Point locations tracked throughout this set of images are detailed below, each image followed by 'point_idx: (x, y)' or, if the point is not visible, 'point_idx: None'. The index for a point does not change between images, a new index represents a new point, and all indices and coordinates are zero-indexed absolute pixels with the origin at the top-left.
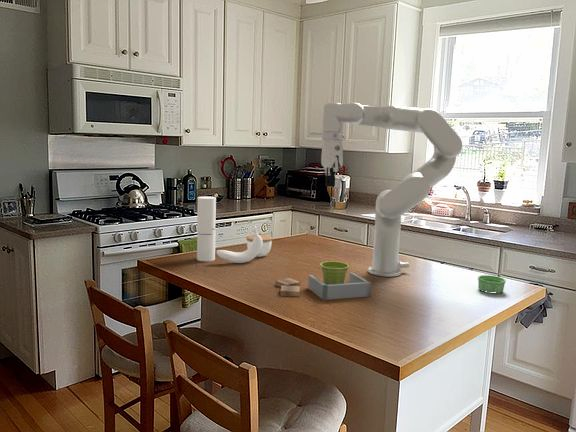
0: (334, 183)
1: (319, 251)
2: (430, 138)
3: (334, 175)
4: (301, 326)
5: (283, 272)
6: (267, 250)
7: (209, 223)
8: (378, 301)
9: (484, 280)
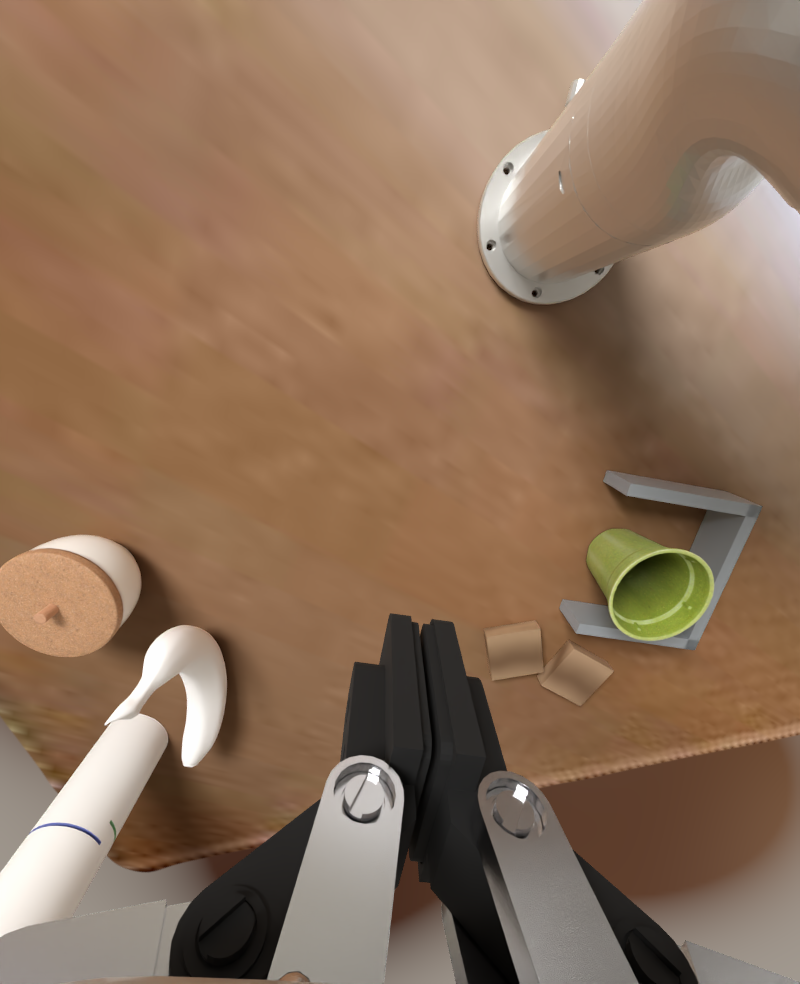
0: (456, 647)
1: (78, 265)
2: None
3: (528, 803)
4: (764, 740)
5: (377, 594)
6: (133, 564)
7: (85, 882)
8: (772, 498)
9: None
